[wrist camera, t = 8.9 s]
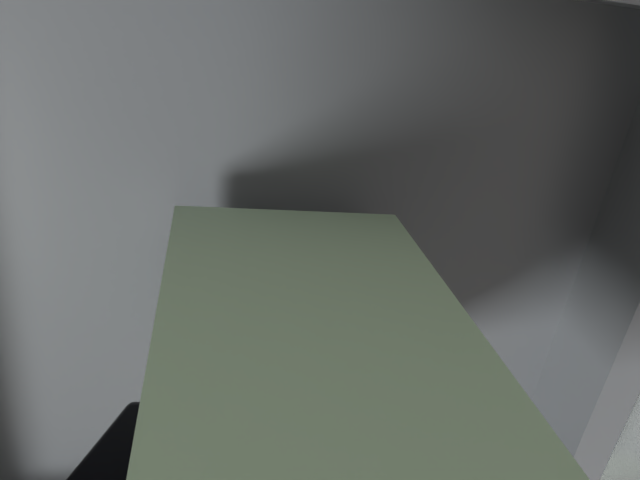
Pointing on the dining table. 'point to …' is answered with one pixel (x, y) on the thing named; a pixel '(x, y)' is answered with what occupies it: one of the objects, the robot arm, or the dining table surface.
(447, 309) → the tall mint pillar
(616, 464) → the dining table surface
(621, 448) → the dining table surface
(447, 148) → the grey tray
